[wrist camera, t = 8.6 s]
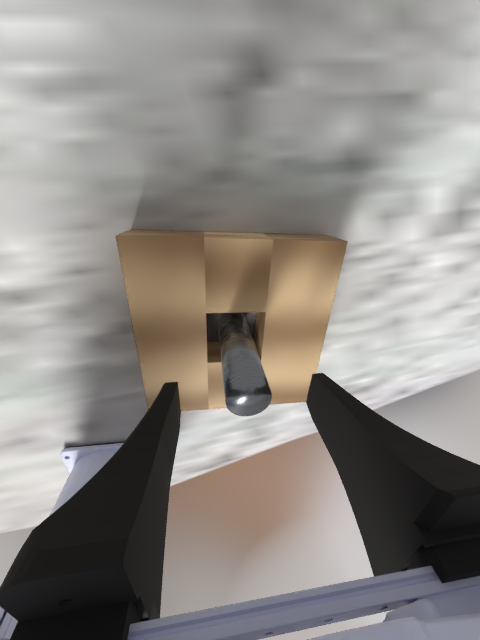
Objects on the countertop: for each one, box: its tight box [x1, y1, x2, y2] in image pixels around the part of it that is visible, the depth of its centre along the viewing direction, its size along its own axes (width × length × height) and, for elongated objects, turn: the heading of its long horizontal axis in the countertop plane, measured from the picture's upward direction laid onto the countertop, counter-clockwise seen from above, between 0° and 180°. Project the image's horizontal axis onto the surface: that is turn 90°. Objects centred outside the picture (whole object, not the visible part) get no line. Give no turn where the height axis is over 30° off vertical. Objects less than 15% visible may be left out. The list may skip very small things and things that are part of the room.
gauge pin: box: [217, 312, 272, 416], centre depth 16 cm, size 2×2×9 cm
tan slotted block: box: [116, 230, 347, 411], centre depth 19 cm, size 14×14×3 cm
